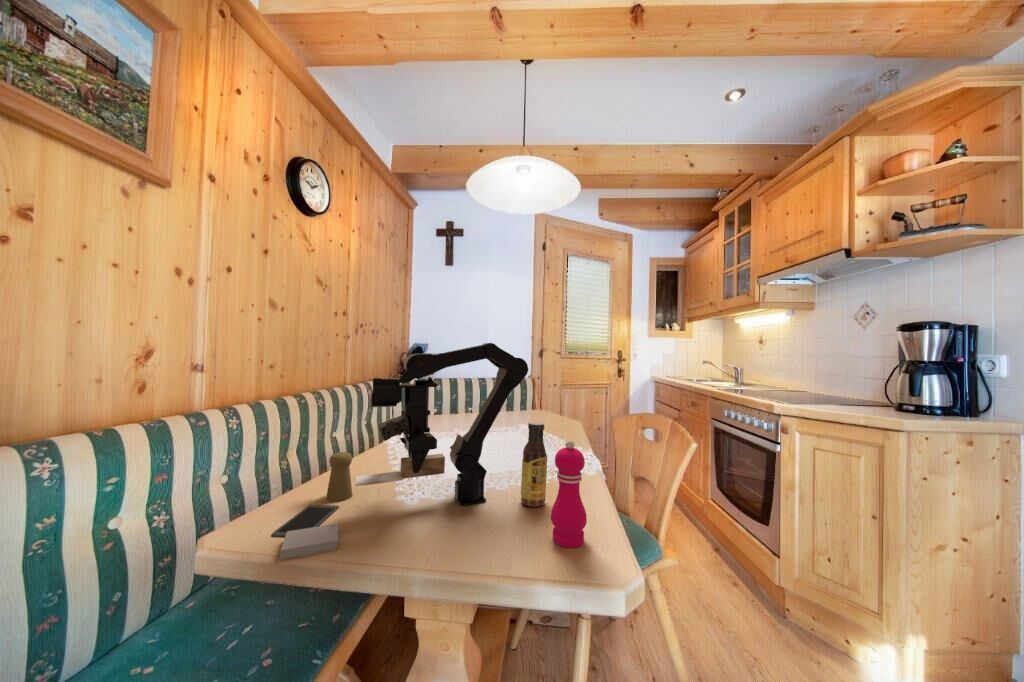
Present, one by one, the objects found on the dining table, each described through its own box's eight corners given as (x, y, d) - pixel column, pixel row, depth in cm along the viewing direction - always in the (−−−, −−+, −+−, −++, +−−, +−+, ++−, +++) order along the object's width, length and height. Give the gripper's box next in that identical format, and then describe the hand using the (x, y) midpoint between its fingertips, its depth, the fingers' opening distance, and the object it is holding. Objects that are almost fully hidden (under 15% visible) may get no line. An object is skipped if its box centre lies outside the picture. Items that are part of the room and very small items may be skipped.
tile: (338, 523, 72) (287, 531, 69) (337, 540, 66) (280, 550, 62) (338, 533, 72) (286, 542, 69) (336, 551, 66) (280, 562, 62)
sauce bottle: (532, 510, 84) (534, 427, 84) (515, 502, 89) (517, 422, 89) (551, 503, 88) (553, 423, 89) (533, 495, 93) (535, 419, 93)
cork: (341, 503, 86) (343, 457, 86) (320, 500, 87) (322, 455, 87) (357, 493, 92) (359, 450, 92) (337, 491, 93) (338, 449, 93)
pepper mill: (543, 534, 73) (545, 437, 74) (573, 528, 76) (575, 435, 77) (562, 552, 66) (564, 446, 67) (593, 545, 69) (595, 443, 70)
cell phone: (340, 508, 84) (340, 505, 84) (306, 539, 70) (306, 535, 70) (309, 507, 84) (309, 504, 84) (269, 538, 70) (269, 534, 70)
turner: (440, 468, 90) (440, 452, 90) (445, 474, 85) (445, 458, 85) (354, 478, 81) (355, 461, 81) (355, 486, 77) (356, 467, 77)
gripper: (377, 401, 90) (375, 463, 90) (385, 414, 73) (383, 490, 73) (421, 400, 95) (420, 458, 94) (438, 411, 78) (436, 482, 78)
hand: (414, 470), depth 85 cm, fingers closed on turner, 3 cm apart
